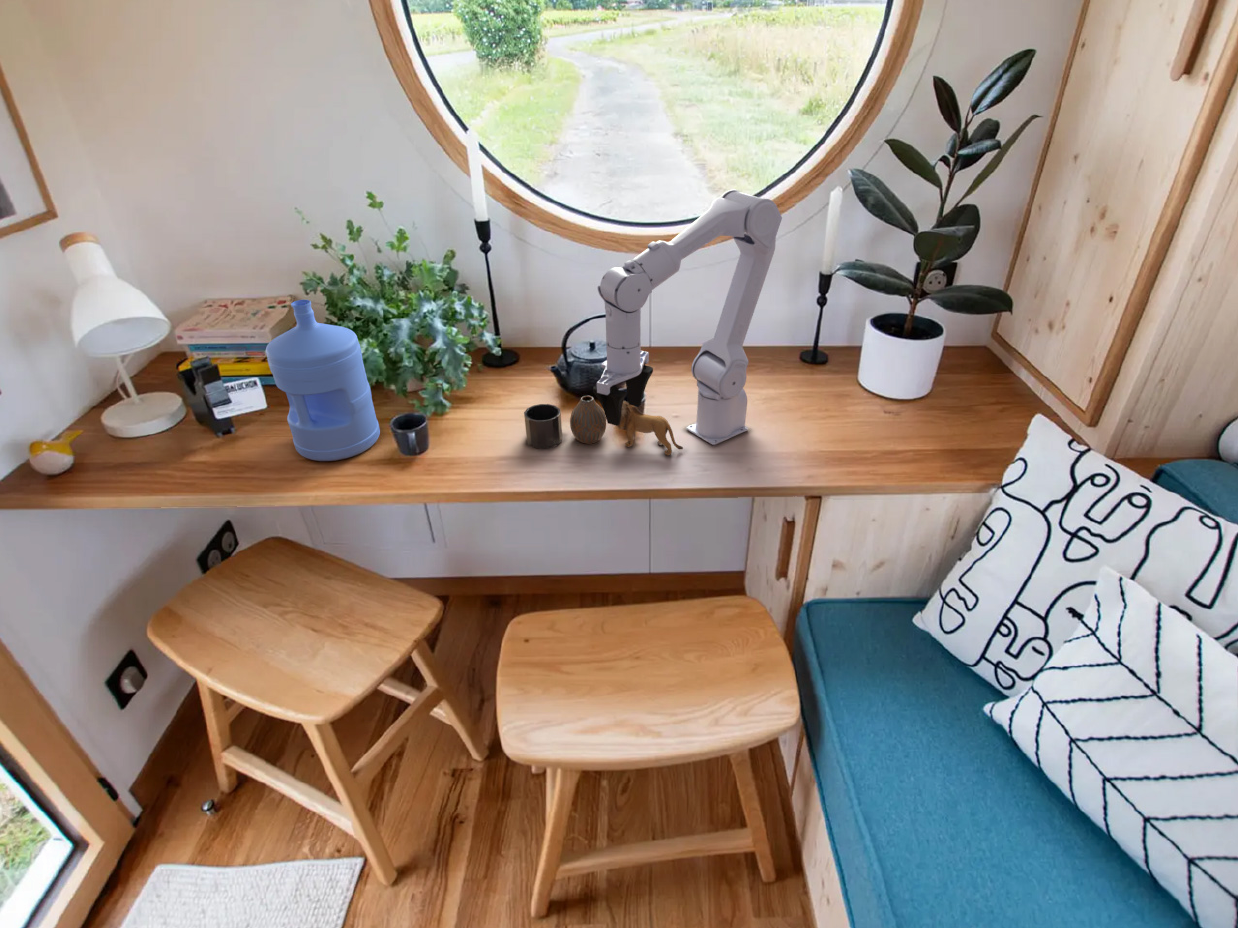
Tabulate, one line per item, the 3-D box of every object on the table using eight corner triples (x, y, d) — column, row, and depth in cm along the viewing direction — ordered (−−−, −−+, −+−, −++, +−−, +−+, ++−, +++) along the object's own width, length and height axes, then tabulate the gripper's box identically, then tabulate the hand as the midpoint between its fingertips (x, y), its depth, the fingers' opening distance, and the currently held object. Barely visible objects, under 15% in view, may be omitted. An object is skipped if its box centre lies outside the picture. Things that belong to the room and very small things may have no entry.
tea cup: (549, 427, 137) (547, 400, 133) (569, 441, 132) (567, 414, 129) (520, 437, 133) (517, 410, 130) (538, 452, 129) (536, 425, 125)
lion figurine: (604, 447, 130) (603, 405, 125) (612, 433, 134) (611, 392, 129) (679, 458, 126) (681, 415, 121) (686, 443, 131) (687, 402, 126)
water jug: (333, 416, 141) (296, 284, 126) (397, 428, 137) (367, 292, 121) (278, 454, 129) (229, 313, 114) (346, 469, 125) (305, 324, 109)
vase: (594, 451, 129) (592, 410, 124) (564, 441, 132) (561, 401, 127) (613, 435, 134) (612, 395, 129) (583, 426, 137) (582, 387, 132)
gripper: (624, 323, 120) (624, 392, 128) (579, 353, 110) (583, 426, 117) (659, 330, 117) (658, 400, 125) (617, 362, 107) (618, 436, 114)
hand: (624, 414), depth 121 cm, fingers open, 7 cm apart
